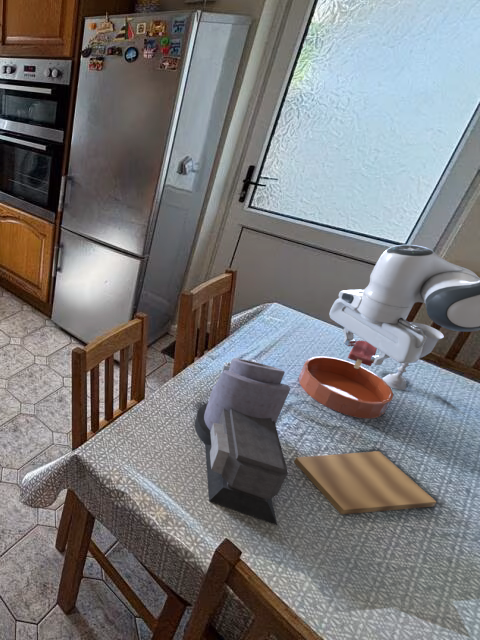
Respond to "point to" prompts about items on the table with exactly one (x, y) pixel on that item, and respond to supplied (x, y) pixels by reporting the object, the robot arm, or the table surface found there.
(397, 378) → the chalice
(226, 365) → the lighter
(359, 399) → the terracotta plant saucer
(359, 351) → the popsicle
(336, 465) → the board
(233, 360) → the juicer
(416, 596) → the table surface
